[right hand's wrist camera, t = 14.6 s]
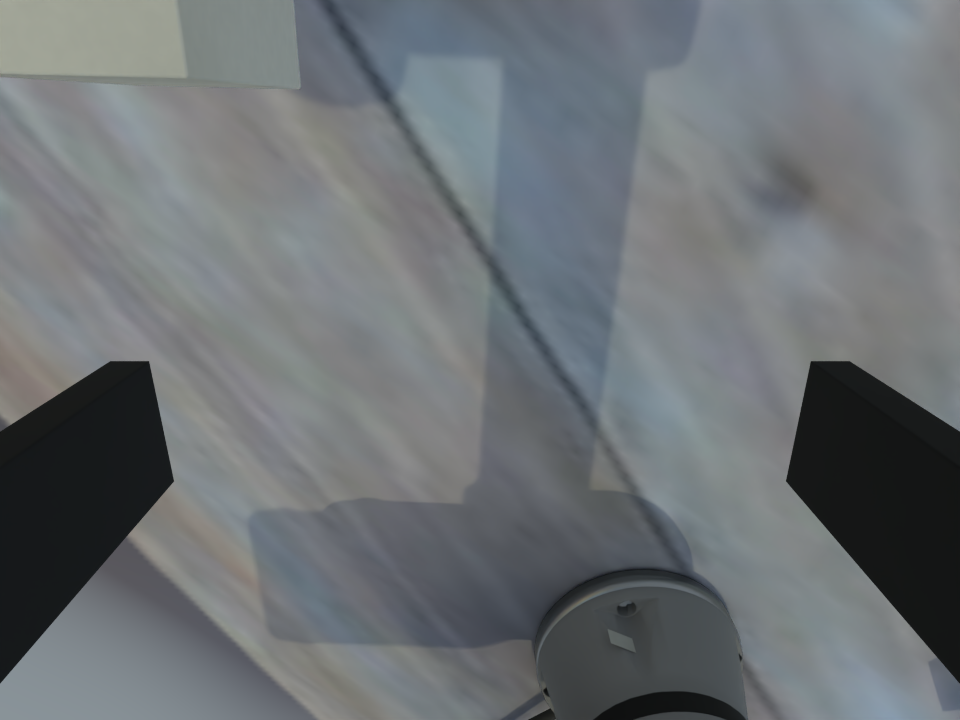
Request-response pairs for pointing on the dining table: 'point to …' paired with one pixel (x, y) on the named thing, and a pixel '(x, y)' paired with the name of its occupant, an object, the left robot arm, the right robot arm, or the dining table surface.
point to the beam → (152, 42)
